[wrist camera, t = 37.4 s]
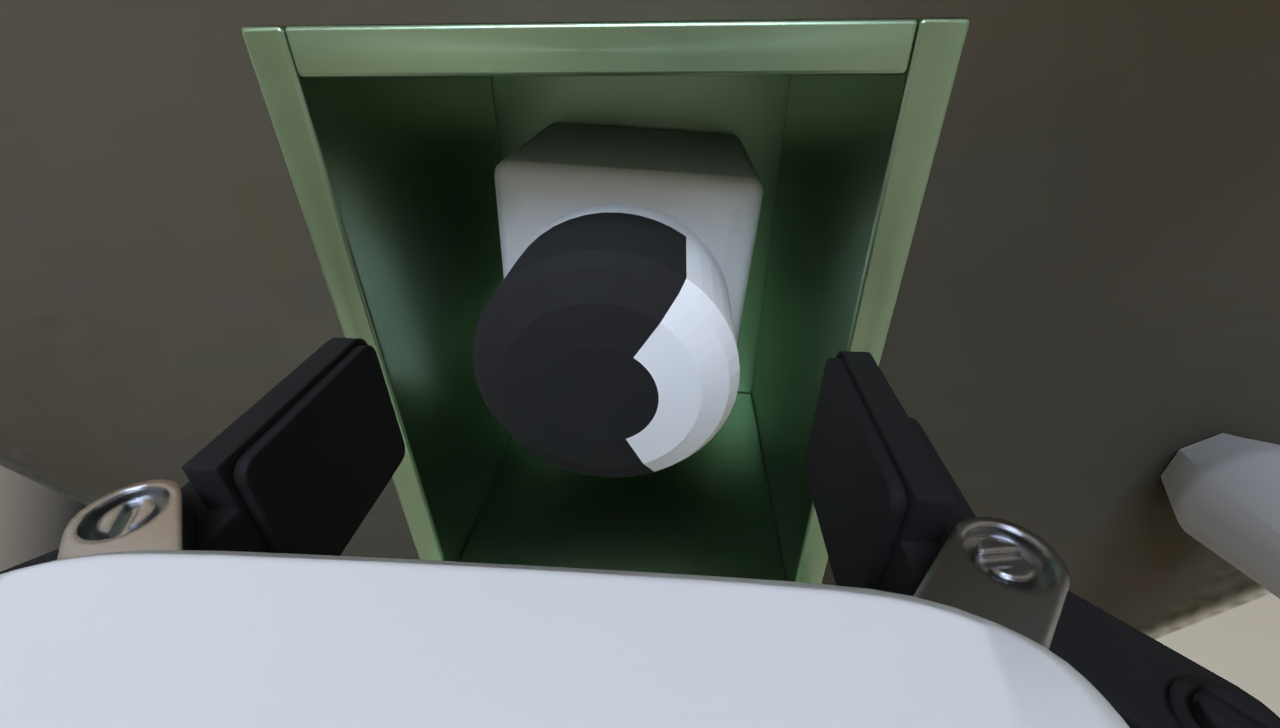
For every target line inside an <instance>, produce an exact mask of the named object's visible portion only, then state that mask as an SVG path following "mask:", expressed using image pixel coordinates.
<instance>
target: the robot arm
mask: <svg viewBox="0 0 1280 728" xmlns="http://www.w3.org/2000/svg"><path fill="white" fill-rule="evenodd" d="M404 455H405V444H404V440H403V437H402V434H401V430H400V427H399V424H398V421H397V418H396V414H395V411H394V408H393V405H392V401H391V398H390V395H389V392H388V388H387V385H386V382H385V379H384V375H383V372H382V369H381V366H380V362H379V359H378V356H377V353H376V350H375V349H374V348H373V347H372V346H370V345H368V344H367V342H366V341H365V340H363V339H361V338H332V339H330V340H329V341H328V342H326V343H325V344H324V345H323V346H322V347H321V348H319V349H318V350H317V351H316V352H315V353H314V354H312V355H311V356H310V357H309V358H308V359H307V360H305V361H304V362H303V363H302V364H301V365H300V366H298V367H297V368H296V369H295V370H294V371H293V372H292V373H290V374H289V375H288V376H287V377H286V378H285V379H283V380H282V381H281V382H280V383H279V384H278V385H276V386H275V387H274V388H273V389H272V390H271V391H269V392H268V393H267V394H266V395H265V396H264V397H263V398H261V399H260V400H259V401H258V402H257V403H256V404H254V405H253V406H252V407H251V408H250V409H249V410H247V411H246V412H245V413H244V414H243V415H242V416H240V417H239V418H238V419H237V420H236V421H235V422H233V423H232V424H231V425H230V426H229V427H228V428H227V429H225V430H224V431H223V432H222V433H221V434H220V435H218V436H217V437H216V438H215V439H214V440H213V441H211V442H210V443H209V444H208V445H207V446H206V447H204V448H203V449H202V450H201V451H200V452H199V453H198V454H196V455H195V456H194V457H193V458H192V459H191V460H189V461H188V462H187V463H186V464H185V465H184V466H182V469H183V470H184V472H185V474H186V475H187V477H188V479H189V480H190V481H189V482H188V483H187V484H186V485H185V486H183V487H182V488H180V486H179V485H178V484H176V483H175V482H173V481H169V480H161V479H159V480H149V481H143V482H139V483H135V484H132V485H128V486H125V487H123V488H120V489H118V490H116V491H113V492H111V493H109V494H107V495H105V496H103V497H101V498H99V499H98V500H96V501H94V502H92V503H91V504H90V505H88V506H87V507H86V508H84V509H83V510H81V511H80V512H79V513H78V514H77V515H76V516H75V517H74V518H73V519H72V520H71V521H70V522H69V523H68V525H67V527H66V529H65V531H64V533H63V536H62V540H61V544H60V548H59V549H57V550H54V551H52V552H49V553H47V554H45V555H42V556H39V557H37V558H34V559H32V560H29V561H27V562H24V563H22V564H20V565H17V566H14V567H12V568H10V569H7V570H4V571H2V572H0V728H1280V718H1279V717H1278V716H1277V715H1276V714H1275V713H1273V712H1272V711H1271V710H1270V709H1269V708H1268V707H1266V706H1265V705H1264V704H1263V703H1262V702H1260V701H1259V700H1257V699H1256V698H1254V697H1253V696H1251V695H1249V694H1248V693H1247V692H1245V691H1243V690H1242V689H1240V688H1239V687H1237V686H1236V685H1234V684H1232V683H1230V682H1228V681H1227V680H1225V679H1223V678H1222V677H1220V676H1218V675H1216V674H1215V673H1213V672H1211V671H1209V670H1207V669H1206V668H1204V667H1202V666H1200V665H1199V664H1197V663H1195V662H1193V661H1191V660H1190V659H1188V658H1186V657H1184V656H1183V655H1181V654H1179V653H1177V652H1176V651H1173V650H1172V649H1170V648H1168V647H1167V646H1164V645H1163V644H1161V643H1160V642H1158V641H1156V640H1154V639H1153V638H1151V637H1149V636H1147V635H1146V634H1144V633H1142V632H1140V631H1138V630H1137V629H1135V628H1133V627H1131V626H1130V625H1128V624H1126V623H1124V622H1123V621H1121V620H1119V619H1117V618H1115V617H1114V616H1112V615H1110V614H1108V613H1107V612H1105V611H1103V610H1101V609H1100V608H1098V607H1096V606H1094V605H1092V604H1091V603H1089V602H1087V601H1085V600H1084V599H1082V598H1080V597H1078V596H1077V595H1075V594H1073V593H1071V592H1069V591H1068V589H1069V583H1070V574H1069V572H1068V569H1067V567H1066V565H1065V562H1064V561H1063V559H1062V558H1061V557H1060V556H1059V555H1058V553H1057V552H1056V551H1055V550H1054V548H1053V547H1051V546H1050V545H1049V544H1048V543H1046V542H1045V541H1044V540H1043V539H1041V538H1040V537H1039V536H1037V535H1036V534H1034V533H1032V532H1030V531H1029V530H1027V529H1025V528H1023V527H1022V526H1019V525H1016V524H1014V523H1011V522H1009V521H1006V520H1002V519H997V518H992V517H976V516H975V515H974V513H973V511H972V510H971V508H970V506H969V505H968V503H967V501H966V500H965V498H964V497H963V495H962V493H961V492H960V490H959V488H958V487H957V485H956V483H955V482H954V480H953V478H952V477H951V475H950V473H949V472H948V470H947V468H946V467H945V465H944V464H943V462H942V460H941V459H940V457H939V455H938V454H937V452H936V450H935V449H934V447H933V445H932V444H931V442H930V440H929V439H928V437H927V435H926V434H925V432H924V431H923V429H922V427H921V426H920V424H919V423H918V422H917V421H916V420H915V419H913V418H908V416H907V414H906V413H905V411H904V409H903V407H902V406H901V404H900V402H899V401H898V399H897V397H896V396H895V394H894V392H893V390H892V389H891V387H890V385H889V384H888V382H887V380H886V379H885V377H884V375H883V373H882V372H881V370H880V368H879V367H878V365H877V363H876V362H875V360H874V358H873V356H872V355H871V354H870V353H869V352H853V351H839V352H838V353H837V355H836V357H835V358H828V359H827V361H826V364H825V368H824V373H823V378H822V383H821V388H820V393H819V398H818V402H817V407H816V412H815V417H814V422H813V427H812V432H811V437H810V442H809V447H808V452H807V457H806V464H805V471H806V478H807V482H808V485H809V489H810V493H811V496H812V500H813V503H814V507H815V511H816V514H817V518H818V521H819V525H820V529H821V532H822V536H823V539H824V543H825V547H826V550H827V554H828V557H829V561H830V565H831V568H832V572H833V575H834V579H835V583H836V585H827V584H817V583H805V582H794V581H779V580H763V579H749V578H735V577H720V576H703V575H687V574H670V573H653V572H636V571H619V570H602V569H585V568H566V567H548V566H530V565H511V564H492V563H473V562H454V561H435V560H416V559H395V558H374V557H353V556H340V555H341V553H342V552H343V550H344V549H345V547H346V546H347V544H348V543H349V541H350V540H351V538H352V536H353V535H354V533H355V532H356V530H357V529H358V527H359V526H360V524H361V523H362V521H363V520H364V518H365V517H366V515H367V514H368V512H369V511H370V509H371V508H372V506H373V505H374V503H375V502H376V500H377V499H378V497H379V496H380V494H381V493H382V491H383V490H384V488H385V486H386V485H387V483H388V482H389V480H390V479H391V477H392V476H393V474H394V473H395V471H396V470H397V468H398V467H399V465H400V464H401V462H402V460H403V458H404Z"/></svg>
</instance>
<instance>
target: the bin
mask: <svg viewBox="0 0 1280 728" xmlns="http://www.w3.org/2000/svg"><path fill="white" fill-rule="evenodd" d="M968 27H969V19H968V18H966V17H945V18H863V19H779V20H695V21H612V22H528V23H445V24H361V25H289V26H245V27H244V28H242V35H243V38H244V41H245V44H246V47H247V50H248V53H249V56H250V59H251V62H252V65H253V68H254V71H255V74H256V77H257V80H258V83H259V86H260V88H261V91H262V94H263V97H264V100H265V103H266V106H267V109H268V112H269V115H270V118H271V121H272V124H273V127H274V130H275V133H276V136H277V139H278V142H279V145H280V148H281V151H282V153H283V156H284V159H285V162H286V165H287V168H288V171H289V174H290V177H291V180H292V183H293V186H294V189H295V192H296V195H297V198H298V201H299V204H300V207H301V210H302V213H303V215H304V218H305V221H306V224H307V227H308V230H309V233H310V236H311V239H312V242H313V245H314V248H315V251H316V254H317V257H318V260H319V263H320V266H321V269H322V272H323V275H324V278H325V280H326V283H327V286H328V289H329V292H330V295H331V298H332V301H333V304H334V307H335V310H336V313H337V316H338V319H339V322H340V325H341V328H342V331H343V334H344V337H345V338H361V339H363V340H365V341H366V342H367V344H368V345H370V346H372V347H373V348H374V349H375V350H376V353H377V356H378V359H379V362H380V366H381V369H382V372H383V375H384V379H385V382H386V385H387V388H388V392H389V395H390V398H391V401H392V405H393V408H394V411H395V414H396V418H397V421H398V424H399V427H400V430H401V434H402V437H403V440H404V444H405V455H404V458H403V460H402V462H401V464H400V465H399V467H398V468H397V470H396V471H395V473H394V474H393V476H392V478H393V481H394V484H395V487H396V490H397V493H398V496H399V499H400V502H401V505H402V508H403V511H404V514H405V517H406V520H407V523H408V526H409V529H410V532H411V535H412V538H413V540H414V543H415V546H416V549H417V552H418V555H419V558H420V560H435V561H454V562H473V563H492V564H511V565H530V566H548V567H566V568H585V569H602V570H619V571H636V572H653V573H670V574H687V575H703V576H720V577H735V578H749V579H763V580H779V581H794V582H805V583H817V584H821V583H822V579H823V576H824V572H825V568H826V564H827V560H828V554H827V550H826V547H825V543H824V539H823V536H822V532H821V529H820V525H819V521H818V518H817V514H816V511H815V507H814V503H813V500H812V496H811V493H810V489H809V485H808V482H807V478H806V471H805V464H806V457H807V452H808V447H809V442H810V437H811V432H812V427H813V422H814V417H815V412H816V407H817V402H818V398H819V393H820V388H821V383H822V378H823V373H824V368H825V364H826V361H827V359H828V358H835V357H836V355H837V353H838V352H839V351H853V352H869V353H870V354H871V355H872V356H873V358H874V360H875V362H876V363H877V365H878V367H879V364H880V360H881V356H882V352H883V348H884V345H885V341H886V337H887V333H888V330H889V326H890V322H891V318H892V314H893V311H894V307H895V303H896V299H897V295H898V292H899V288H900V284H901V280H902V277H903V273H904V269H905V265H906V261H907V258H908V254H909V250H910V246H911V242H912V239H913V235H914V231H915V227H916V224H917V220H918V216H919V212H920V208H921V205H922V201H923V197H924V193H925V189H926V186H927V182H928V178H929V174H930V171H931V167H932V163H933V159H934V155H935V152H936V148H937V144H938V140H939V136H940V133H941V129H942V125H943V121H944V118H945V114H946V110H947V106H948V102H949V99H950V95H951V91H952V87H953V83H954V80H955V76H956V72H957V68H958V65H959V61H960V57H961V53H962V49H963V46H964V42H965V38H966V34H967V30H968ZM553 123H568V124H582V125H597V126H612V127H627V128H642V129H657V130H671V131H686V132H701V133H716V134H731V135H735V136H738V138H739V139H740V140H741V142H742V144H743V146H744V148H745V151H746V153H747V155H748V157H749V159H750V161H751V163H752V165H753V167H754V169H755V171H756V173H757V175H758V177H759V179H760V181H761V183H762V185H763V198H762V203H761V209H760V215H759V221H758V227H757V232H756V238H755V244H754V250H753V255H752V261H751V267H750V273H749V279H748V284H747V290H746V296H745V302H744V307H743V313H742V319H741V325H740V331H739V336H738V342H737V349H738V356H739V365H740V378H739V387H738V392H737V396H736V400H735V403H734V405H733V408H732V410H731V412H730V415H729V416H728V418H727V419H726V421H725V423H724V424H723V426H722V427H721V429H720V430H719V431H718V432H717V433H716V435H715V436H714V437H713V438H712V439H711V440H710V441H709V442H708V443H707V444H705V445H704V446H703V447H702V448H701V449H700V450H698V451H697V452H695V453H694V454H692V455H691V456H689V457H688V458H686V459H684V460H682V461H680V462H678V463H676V464H674V465H671V466H669V467H667V468H664V469H661V470H658V471H656V472H652V473H648V474H643V475H638V476H630V477H599V476H591V475H586V474H580V473H576V472H573V471H570V470H566V469H563V468H561V467H558V466H556V465H553V464H551V463H549V462H547V461H545V460H543V459H541V458H539V457H538V456H536V455H534V454H533V453H531V452H530V451H528V450H527V449H526V448H524V447H523V446H522V445H520V444H519V443H518V442H517V441H516V440H515V439H514V438H512V437H511V436H510V435H509V433H508V432H507V431H506V430H505V429H504V428H503V427H502V426H501V425H500V423H499V422H498V421H497V420H496V418H495V417H494V416H493V414H492V413H491V411H490V410H489V408H488V407H487V405H486V403H485V401H484V399H483V397H482V395H481V393H480V390H479V387H478V384H477V381H476V378H475V373H474V367H473V348H472V347H473V341H474V334H475V330H476V327H477V324H478V321H479V318H480V315H481V314H482V312H483V310H484V308H485V306H486V304H487V303H488V301H489V300H490V298H491V297H492V295H493V294H494V293H495V291H496V290H497V288H498V287H499V285H500V284H501V283H502V281H503V280H504V276H503V265H502V254H501V243H500V233H499V222H498V211H497V200H496V189H495V178H494V174H495V168H496V166H497V165H498V164H499V163H500V162H501V161H502V160H503V159H505V158H506V157H507V156H509V155H510V154H511V153H513V152H514V151H515V150H517V149H518V148H519V147H521V146H522V145H523V144H525V143H526V142H528V141H529V140H530V139H532V138H533V137H534V136H536V135H537V134H538V133H540V132H541V131H542V130H544V129H545V128H546V127H548V126H549V125H550V124H553Z"/></svg>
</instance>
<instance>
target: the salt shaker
mask: <svg viewBox="0 0 1280 728" xmlns="http://www.w3.org/2000/svg"><path fill="white" fill-rule="evenodd" d="M1160 477H1161V479H1162V482H1163V485H1164V487H1165V490H1166V493H1167V495H1168V498H1169V501H1170V503H1171V506H1172V509H1173V511H1174V513H1175V516H1176V518H1177V521H1178V523H1179V524H1180V526H1181V527H1182V528H1183V530H1184V531H1185V532H1186V533H1187V534H1189V535H1190V536H1191V537H1193V538H1194V539H1196V540H1197V541H1199V542H1200V543H1201V544H1203V545H1204V546H1206V547H1207V548H1208V549H1210V550H1211V551H1213V552H1214V553H1216V554H1217V555H1218V556H1220V557H1221V558H1223V559H1224V560H1226V561H1227V562H1228V563H1230V564H1231V565H1233V566H1234V567H1235V568H1237V569H1238V570H1240V571H1241V572H1243V573H1244V574H1245V575H1247V576H1248V577H1250V578H1251V579H1253V580H1254V581H1255V582H1257V583H1258V584H1260V585H1261V586H1262V587H1264V588H1265V589H1267V590H1268V591H1270V592H1271V593H1272V594H1274V595H1275V596H1277V597H1278V598H1280V445H1278V444H1273V443H1268V442H1262V441H1257V440H1252V439H1247V438H1242V437H1238V436H1234V435H1230V434H1226V433H1221V434H1218V435H1216V436H1213V437H1211V438H1208V439H1205V440H1203V441H1200V442H1197V443H1195V444H1192V445H1189V446H1187V447H1184V448H1181V449H1179V451H1178V452H1177V453H1176V455H1175V456H1174V458H1173V459H1172V461H1171V462H1170V463H1169V465H1168V466H1167V468H1166V469H1165V470H1164V472H1163V473H1162V475H1161V476H1160Z"/></svg>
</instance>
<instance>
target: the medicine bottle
mask: <svg viewBox="0 0 1280 728" xmlns="http://www.w3.org/2000/svg"><path fill="white" fill-rule="evenodd" d="M494 178H495V189H496V200H497V211H498V222H499V233H500V243H501V254H502V265H503V276H504V280H503V281H502V283H501V284H500V285H499V287H498V288H497V290H496V291H495V293H494V294H493V295H492V297H491V298H490V300H489V301H488V303H487V304H486V306H485V308H484V310H483V312H482V314H481V315H480V318H479V321H478V324H477V327H476V330H475V334H474V341H473V347H472V348H473V367H474V373H475V378H476V381H477V384H478V387H479V390H480V393H481V395H482V397H483V399H484V401H485V403H486V405H487V407H488V408H489V410H490V411H491V413H492V414H493V416H494V417H495V418H496V420H497V421H498V422H499V423H500V425H501V426H502V427H503V428H504V429H505V430H506V431H507V432H508V433H509V435H510V436H511V437H512V438H514V439H515V440H516V441H517V442H518V443H519V444H520V445H522V446H523V447H524V448H526V449H527V450H528V451H530V452H531V453H533V454H534V455H536V456H538V457H539V458H541V459H543V460H545V461H547V462H549V463H551V464H553V465H556V466H558V467H561V468H563V469H566V470H570V471H573V472H576V473H580V474H586V475H591V476H599V477H630V476H638V475H643V474H648V473H652V472H656V471H658V470H661V469H664V468H667V467H669V466H671V465H674V464H676V463H678V462H680V461H682V460H684V459H686V458H688V457H689V456H691V455H692V454H694V453H695V452H697V451H698V450H700V449H701V448H702V447H703V446H704V445H705V444H707V443H708V442H709V441H710V440H711V439H712V438H713V437H714V436H715V435H716V433H717V432H718V431H719V430H720V429H721V427H722V426H723V424H724V423H725V421H726V419H727V418H728V416H729V415H730V412H731V410H732V408H733V405H734V403H735V400H736V396H737V392H738V387H739V378H740V365H739V356H738V349H737V342H738V336H739V331H740V325H741V319H742V313H743V307H744V302H745V296H746V290H747V284H748V279H749V273H750V267H751V261H752V255H753V250H754V244H755V238H756V232H757V227H758V221H759V215H760V209H761V203H762V198H763V185H762V183H761V181H760V179H759V177H758V175H757V173H756V171H755V169H754V167H753V165H752V163H751V161H750V159H749V157H748V155H747V153H746V151H745V148H744V146H743V144H742V142H741V140H740V139H739V138H738V136H735V135H731V134H716V133H701V132H686V131H671V130H657V129H642V128H627V127H612V126H597V125H582V124H568V123H553V124H550V125H549V126H548V127H546V128H545V129H544V130H542V131H541V132H540V133H538V134H537V135H536V136H534V137H533V138H532V139H530V140H529V141H528V142H526V143H525V144H523V145H522V146H521V147H519V148H518V149H517V150H515V151H514V152H513V153H511V154H510V155H509V156H507V157H506V158H505V159H503V160H502V161H501V162H500V163H499V164H498V165H497V166H496V168H495V174H494Z"/></svg>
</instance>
